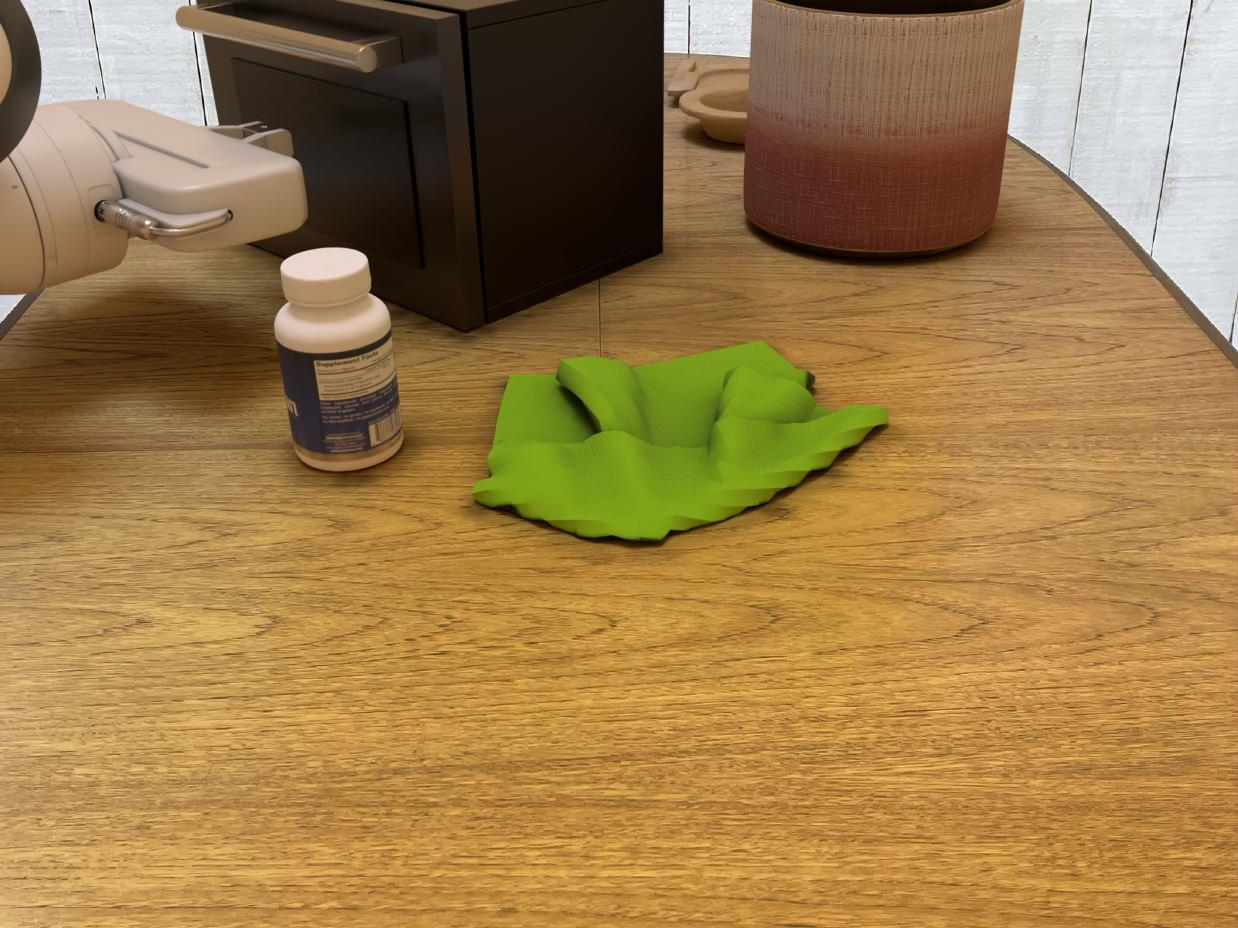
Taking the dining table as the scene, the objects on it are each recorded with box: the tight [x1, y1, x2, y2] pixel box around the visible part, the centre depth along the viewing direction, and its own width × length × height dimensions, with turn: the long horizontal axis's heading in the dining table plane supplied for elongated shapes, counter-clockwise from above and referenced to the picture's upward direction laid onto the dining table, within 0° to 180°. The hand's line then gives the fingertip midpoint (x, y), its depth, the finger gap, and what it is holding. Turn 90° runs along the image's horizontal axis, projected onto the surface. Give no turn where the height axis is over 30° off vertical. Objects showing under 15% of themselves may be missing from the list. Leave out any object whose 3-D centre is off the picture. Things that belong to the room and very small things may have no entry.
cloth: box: [470, 340, 890, 542], centre depth 63 cm, size 20×22×2 cm
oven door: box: [174, 0, 486, 331], centre depth 76 cm, size 5×24×18 cm, turn 47°
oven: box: [382, 0, 665, 324], centre depth 83 cm, size 16×24×18 cm, turn 47°
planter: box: [742, 0, 1026, 259], centre depth 86 cm, size 18×18×16 cm
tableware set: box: [666, 58, 750, 145], centre depth 116 cm, size 35×29×4 cm
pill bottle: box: [273, 248, 404, 472], centre depth 60 cm, size 5×5×10 cm
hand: (278, 139), depth 75 cm, fingers closed
